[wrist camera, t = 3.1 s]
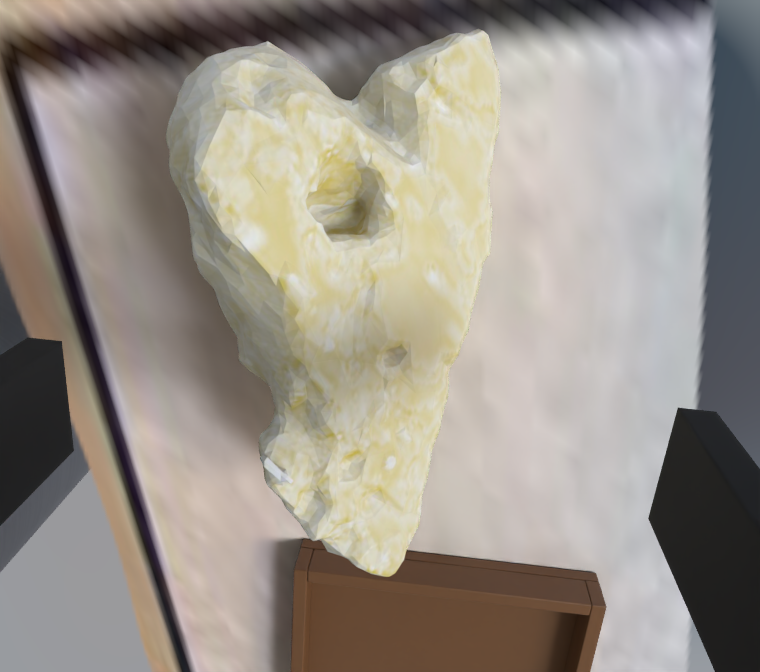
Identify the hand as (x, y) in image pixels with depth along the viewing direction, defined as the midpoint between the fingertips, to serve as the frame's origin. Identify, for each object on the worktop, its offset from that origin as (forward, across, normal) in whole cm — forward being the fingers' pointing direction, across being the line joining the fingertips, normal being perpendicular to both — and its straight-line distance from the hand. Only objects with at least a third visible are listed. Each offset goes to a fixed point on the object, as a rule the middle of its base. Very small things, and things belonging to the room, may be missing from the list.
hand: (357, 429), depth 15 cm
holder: (+12, +3, -24) cm, 27 cm away
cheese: (+12, 0, 0) cm, 13 cm away
